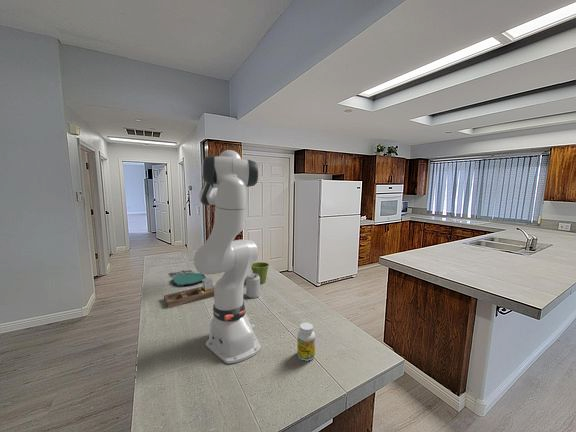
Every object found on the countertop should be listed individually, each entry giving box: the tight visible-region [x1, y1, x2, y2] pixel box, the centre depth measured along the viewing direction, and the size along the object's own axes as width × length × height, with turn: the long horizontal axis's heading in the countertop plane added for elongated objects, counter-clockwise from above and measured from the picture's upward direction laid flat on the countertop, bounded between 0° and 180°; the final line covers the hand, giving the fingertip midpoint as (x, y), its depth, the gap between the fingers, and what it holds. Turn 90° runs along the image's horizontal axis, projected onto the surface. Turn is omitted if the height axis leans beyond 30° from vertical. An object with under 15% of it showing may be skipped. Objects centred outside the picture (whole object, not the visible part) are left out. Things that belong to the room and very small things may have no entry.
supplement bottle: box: [296, 322, 316, 362], centre depth 87 cm, size 6×6×11 cm
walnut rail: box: [163, 284, 215, 309], centre depth 133 cm, size 11×26×3 cm, turn 127°
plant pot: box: [250, 261, 270, 284], centre depth 155 cm, size 12×12×11 cm
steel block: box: [201, 277, 214, 292], centre depth 137 cm, size 5×5×8 cm
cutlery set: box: [168, 269, 207, 287], centre depth 160 cm, size 20×30×2 cm, turn 37°
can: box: [245, 272, 261, 299], centre depth 135 cm, size 8×8×12 cm
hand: (224, 232), depth 143 cm, fingers open, 8 cm apart
